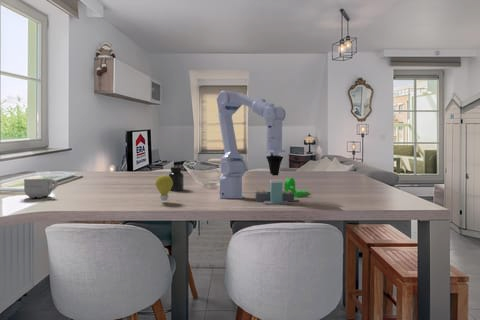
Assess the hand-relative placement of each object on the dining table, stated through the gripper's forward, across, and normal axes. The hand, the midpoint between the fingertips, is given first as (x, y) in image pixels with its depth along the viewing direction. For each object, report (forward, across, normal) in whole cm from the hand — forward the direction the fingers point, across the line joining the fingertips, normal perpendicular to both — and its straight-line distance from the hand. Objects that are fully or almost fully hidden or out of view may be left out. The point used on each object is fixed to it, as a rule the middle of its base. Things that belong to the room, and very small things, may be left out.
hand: (274, 174), depth 148 cm
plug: (+10, -2, -1) cm, 10 cm away
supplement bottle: (+11, +36, +43) cm, 57 cm away
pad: (+10, -3, -1) cm, 11 cm away
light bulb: (+11, +7, +42) cm, 44 cm away
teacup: (+11, +17, +96) cm, 98 cm away
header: (+10, +6, 0) cm, 12 cm away
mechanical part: (+11, +23, -12) cm, 28 cm away
